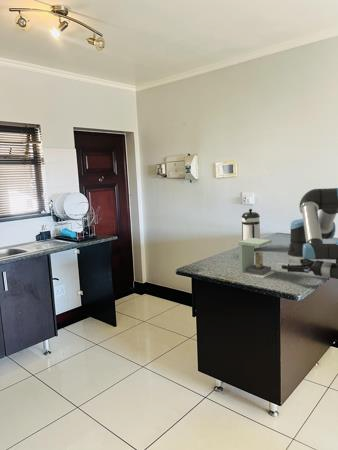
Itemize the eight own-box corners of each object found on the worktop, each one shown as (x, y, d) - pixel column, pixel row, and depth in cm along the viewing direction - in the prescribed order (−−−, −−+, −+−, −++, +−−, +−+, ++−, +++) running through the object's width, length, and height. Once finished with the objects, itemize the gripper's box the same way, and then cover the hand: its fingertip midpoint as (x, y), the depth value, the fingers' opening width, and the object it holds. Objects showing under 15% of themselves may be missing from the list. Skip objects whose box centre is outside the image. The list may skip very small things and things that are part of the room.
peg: (262, 270, 197) (262, 252, 196) (262, 272, 193) (262, 253, 192) (255, 270, 198) (255, 252, 197) (255, 272, 194) (255, 253, 193)
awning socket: (274, 272, 194) (274, 240, 192) (262, 278, 185) (262, 244, 183) (251, 268, 205) (251, 237, 202) (239, 273, 196) (238, 241, 193)
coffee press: (265, 251, 245) (265, 209, 240) (242, 252, 245) (242, 210, 240) (259, 245, 262) (259, 206, 257) (238, 246, 262) (237, 207, 257)
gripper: (312, 282, 161) (271, 274, 176) (332, 270, 179) (293, 264, 194) (313, 267, 160) (271, 260, 175) (333, 256, 177) (293, 251, 192)
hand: (283, 262), depth 184 cm, fingers open, 13 cm apart
